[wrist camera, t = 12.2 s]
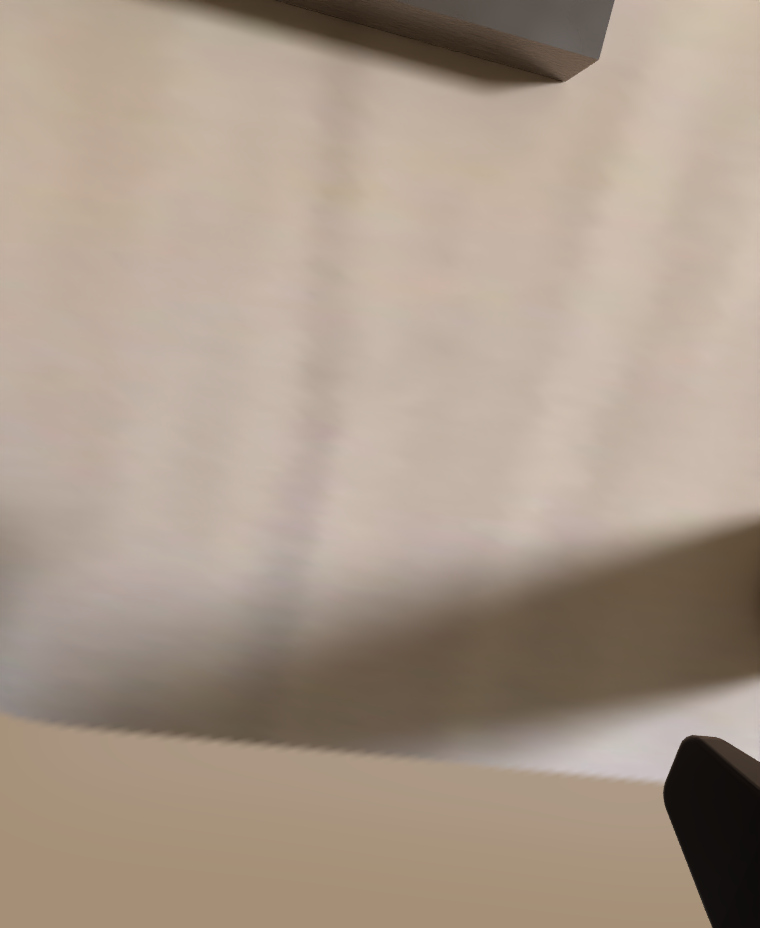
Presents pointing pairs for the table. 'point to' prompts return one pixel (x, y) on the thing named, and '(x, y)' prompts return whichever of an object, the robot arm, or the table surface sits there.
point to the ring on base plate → (491, 28)
